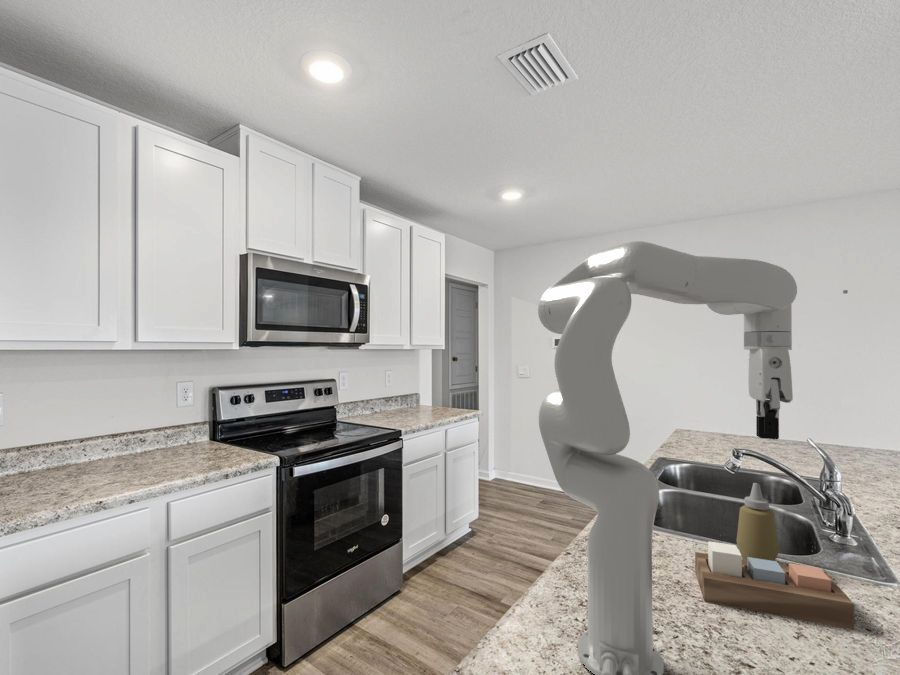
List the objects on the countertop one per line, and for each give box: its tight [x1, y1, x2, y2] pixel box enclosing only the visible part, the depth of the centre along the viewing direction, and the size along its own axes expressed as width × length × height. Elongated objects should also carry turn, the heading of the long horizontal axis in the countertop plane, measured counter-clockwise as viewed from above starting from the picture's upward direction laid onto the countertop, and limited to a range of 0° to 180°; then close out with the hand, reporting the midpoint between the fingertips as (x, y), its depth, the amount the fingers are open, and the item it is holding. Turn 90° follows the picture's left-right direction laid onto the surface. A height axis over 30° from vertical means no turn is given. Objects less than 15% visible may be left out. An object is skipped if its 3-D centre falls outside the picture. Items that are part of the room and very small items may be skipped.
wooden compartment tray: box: [694, 551, 855, 631], centre depth 87 cm, size 12×23×4 cm, turn 68°
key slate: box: [747, 557, 785, 585], centre depth 87 cm, size 5×5×5 cm
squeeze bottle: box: [735, 482, 780, 561], centre depth 102 cm, size 8×8×18 cm
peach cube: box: [788, 563, 831, 592], centre depth 85 cm, size 5×5×5 cm
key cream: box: [707, 541, 742, 577], centre depth 90 cm, size 5×5×5 cm
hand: (767, 437), depth 84 cm, fingers closed
